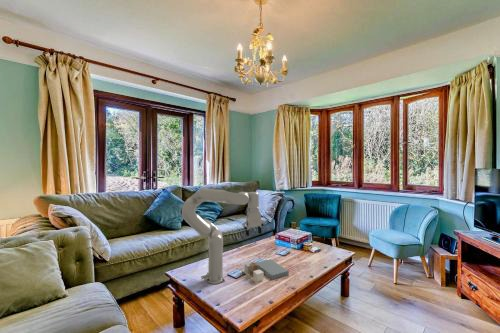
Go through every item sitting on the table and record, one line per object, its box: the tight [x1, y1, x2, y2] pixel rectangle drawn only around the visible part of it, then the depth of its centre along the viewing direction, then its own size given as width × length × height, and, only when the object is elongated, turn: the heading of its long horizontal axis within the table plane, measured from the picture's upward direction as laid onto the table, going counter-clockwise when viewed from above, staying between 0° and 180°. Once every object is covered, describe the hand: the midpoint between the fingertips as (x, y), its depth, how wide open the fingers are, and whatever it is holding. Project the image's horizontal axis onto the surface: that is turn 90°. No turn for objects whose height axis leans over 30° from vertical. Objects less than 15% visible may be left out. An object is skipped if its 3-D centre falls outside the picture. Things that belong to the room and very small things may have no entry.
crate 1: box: [244, 261, 252, 274], centre depth 164 cm, size 5×5×5 cm
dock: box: [255, 258, 290, 280], centre depth 166 cm, size 14×22×4 cm, turn 30°
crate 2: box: [253, 269, 265, 282], centre depth 153 cm, size 5×5×5 cm
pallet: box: [242, 262, 267, 284], centre depth 159 cm, size 8×20×10 cm, turn 30°
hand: (253, 234), depth 159 cm, fingers open, 9 cm apart
